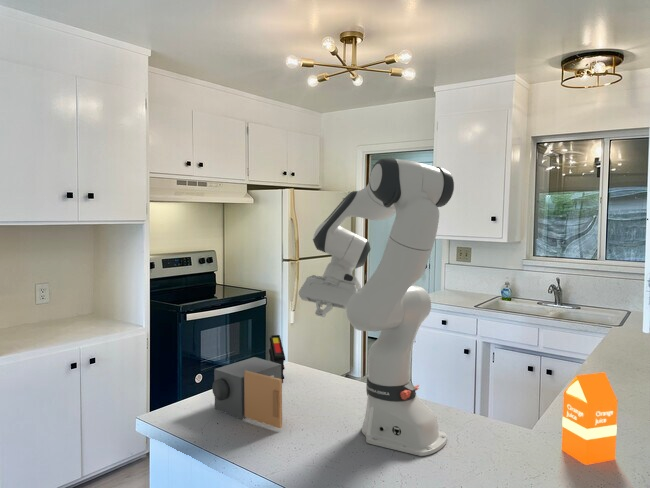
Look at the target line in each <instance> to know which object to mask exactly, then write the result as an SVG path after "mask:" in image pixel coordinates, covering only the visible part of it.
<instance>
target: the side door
mask: <svg viewBox="0 0 650 488" xmlns="http://www.w3.org/2000/svg"><path fill="white" fill-rule="evenodd" d="M244 416H245V417H246V418H245V419H250V420H252V421H256V422H259V423H263V424H265V425H269V426H270V427H271V426H272V427H275V428H278V429H280V428H283V383H282V379H279V378H275V377H271V376H266V375H262V374H258V373H254V372H250V371H247V370H244Z"/></svg>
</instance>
